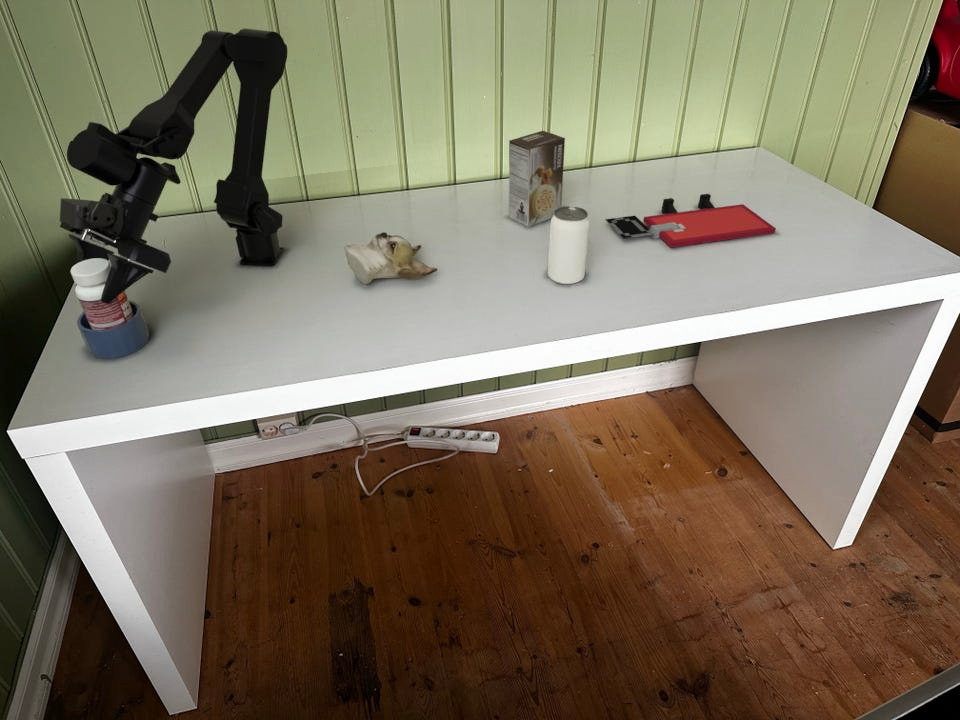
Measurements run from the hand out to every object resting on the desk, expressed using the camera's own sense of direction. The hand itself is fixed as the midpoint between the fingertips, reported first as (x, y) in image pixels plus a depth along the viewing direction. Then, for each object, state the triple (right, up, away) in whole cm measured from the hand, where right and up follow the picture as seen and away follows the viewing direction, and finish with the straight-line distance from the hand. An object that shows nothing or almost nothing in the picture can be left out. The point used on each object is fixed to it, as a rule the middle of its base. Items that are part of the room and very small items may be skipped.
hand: (91, 295), depth 100 cm
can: (+72, +5, +21) cm, 75 cm away
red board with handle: (+97, +17, +36) cm, 105 cm away
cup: (+1, -7, +6) cm, 9 cm away
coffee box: (+68, +20, +41) cm, 81 cm away
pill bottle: (+1, -5, +5) cm, 7 cm away
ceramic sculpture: (+41, +5, +22) cm, 46 cm away
